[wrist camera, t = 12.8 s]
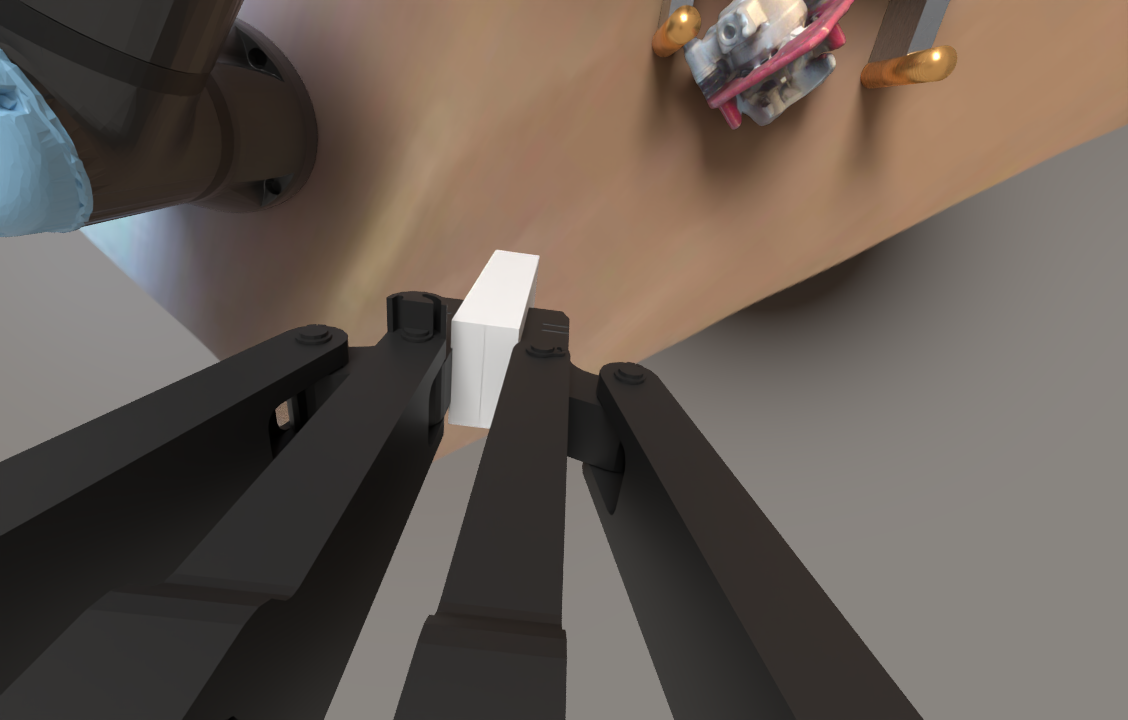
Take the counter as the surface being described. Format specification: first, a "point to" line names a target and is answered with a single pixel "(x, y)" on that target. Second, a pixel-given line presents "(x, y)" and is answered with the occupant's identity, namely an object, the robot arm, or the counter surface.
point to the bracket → (894, 55)
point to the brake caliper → (766, 55)
